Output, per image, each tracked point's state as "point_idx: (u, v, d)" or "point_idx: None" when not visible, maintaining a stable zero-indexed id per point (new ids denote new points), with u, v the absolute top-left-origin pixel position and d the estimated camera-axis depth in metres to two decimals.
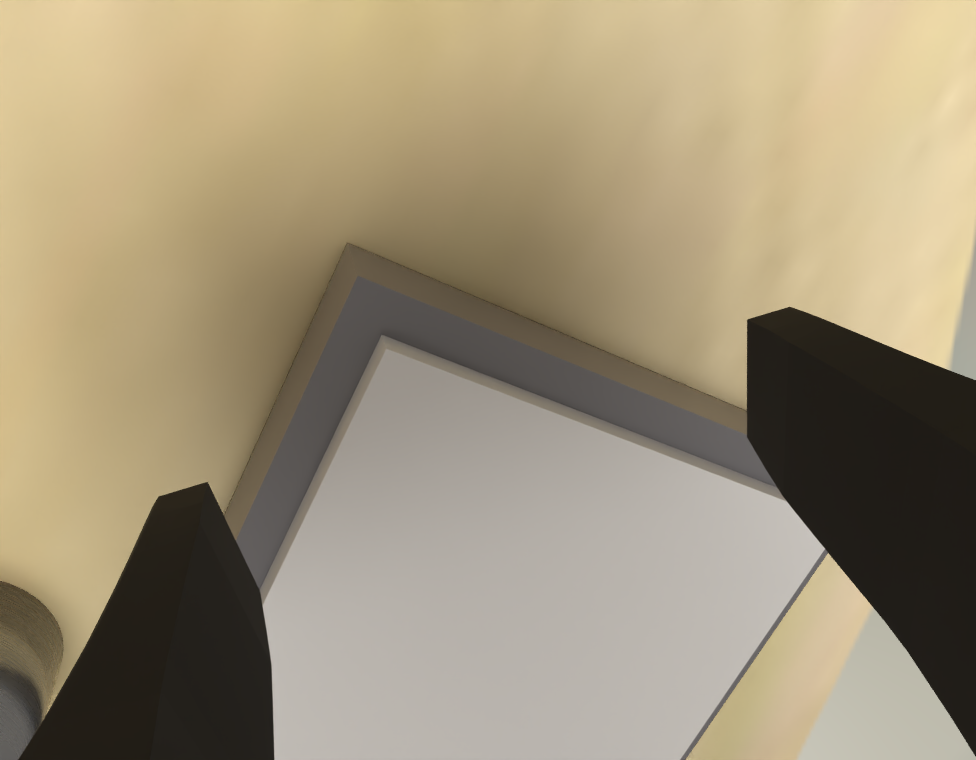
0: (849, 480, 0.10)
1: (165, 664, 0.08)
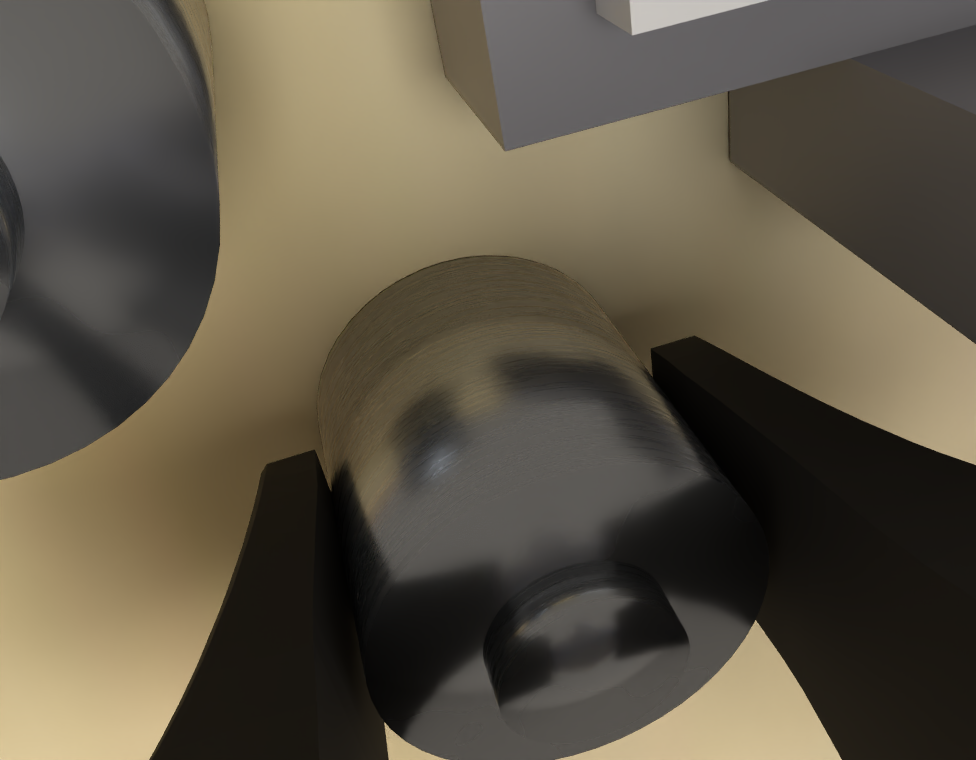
0: None
1: (312, 616, 0.08)
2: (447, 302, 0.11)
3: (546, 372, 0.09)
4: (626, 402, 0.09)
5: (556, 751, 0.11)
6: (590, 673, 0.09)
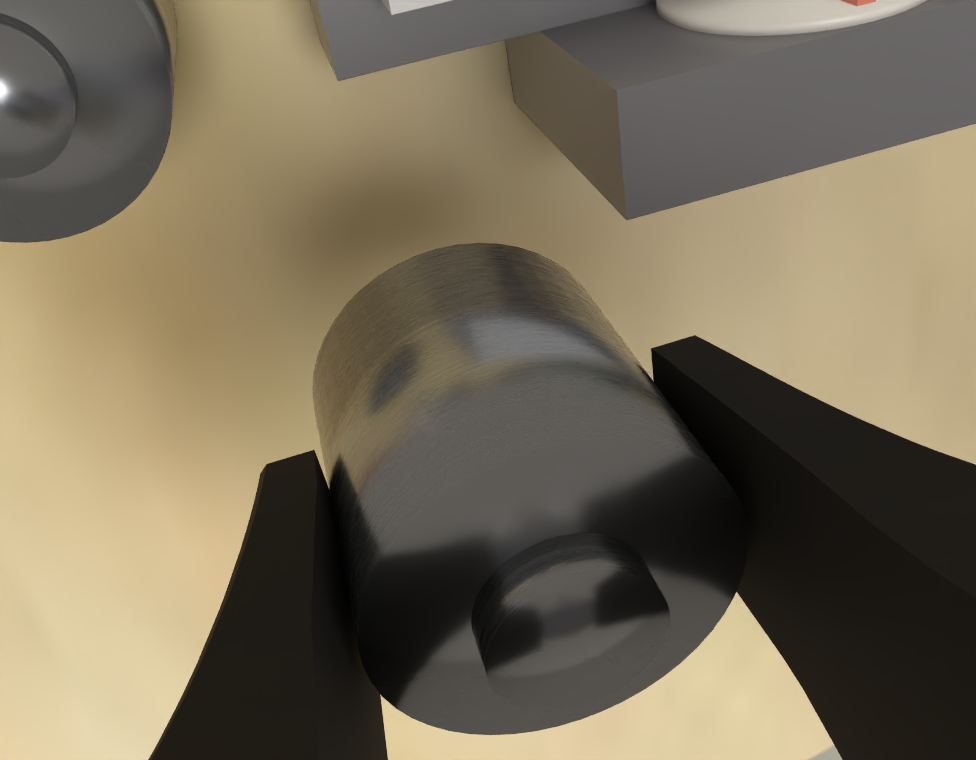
0: None
1: (311, 617, 0.08)
2: (440, 286, 0.11)
3: (534, 352, 0.10)
4: (611, 381, 0.10)
5: (542, 722, 0.11)
6: (574, 641, 0.09)
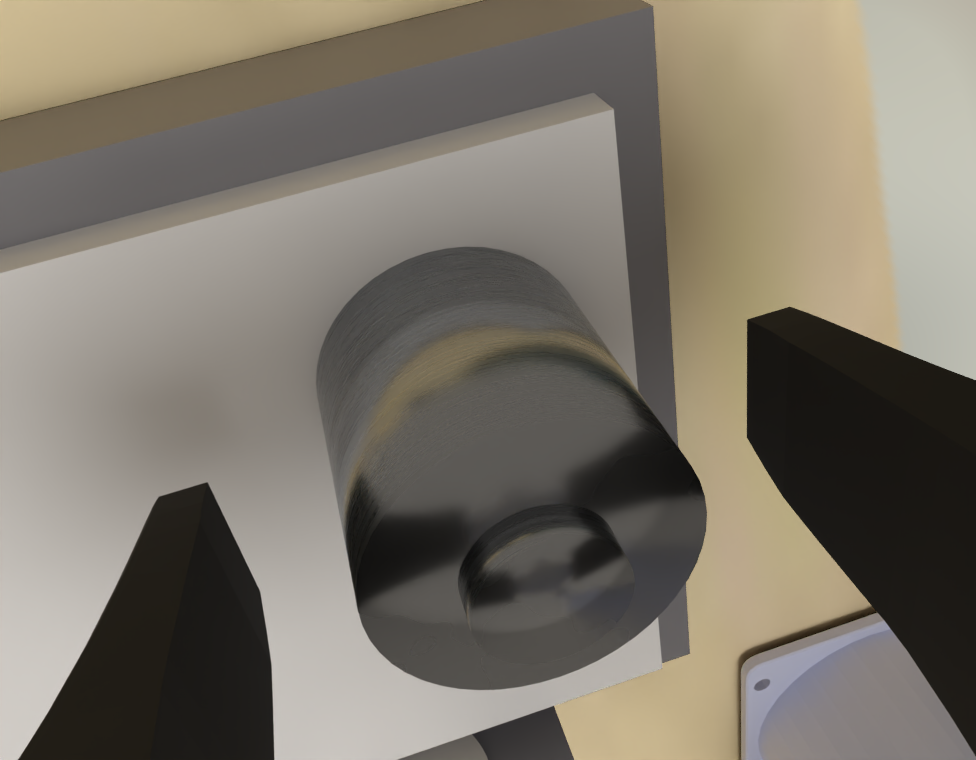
0: (849, 480, 0.10)
1: (165, 664, 0.08)
2: (470, 277, 0.12)
3: (556, 345, 0.11)
4: (618, 383, 0.11)
5: (488, 682, 0.12)
6: (551, 598, 0.10)
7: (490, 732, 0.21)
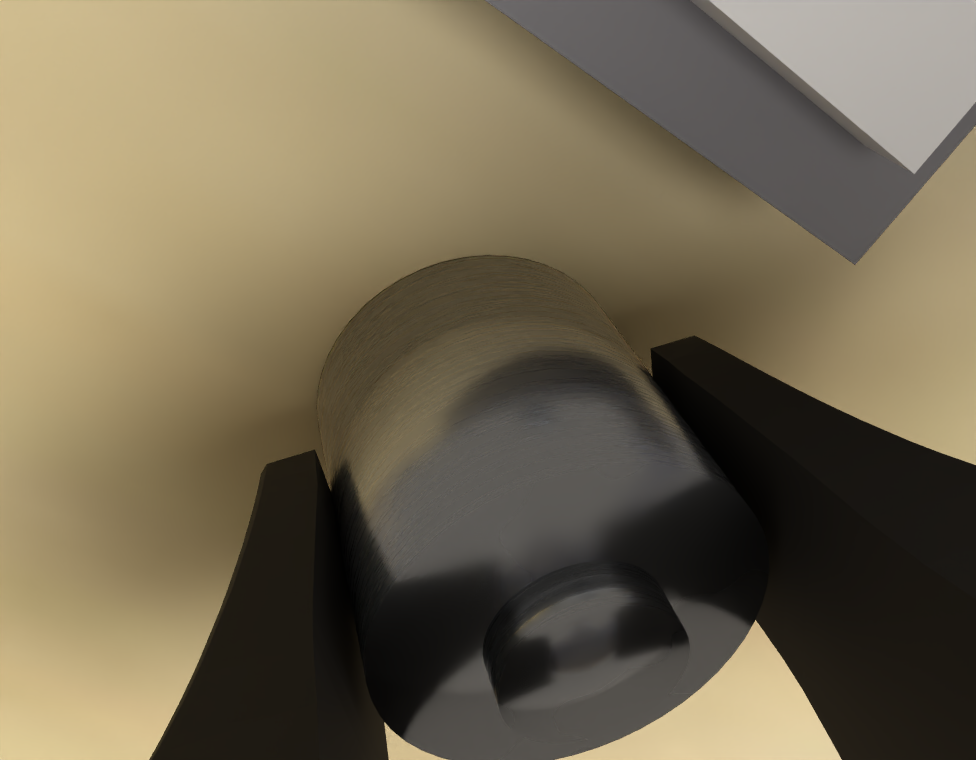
0: None
1: (311, 617, 0.08)
2: None
3: None
4: None
5: None
6: None
7: None
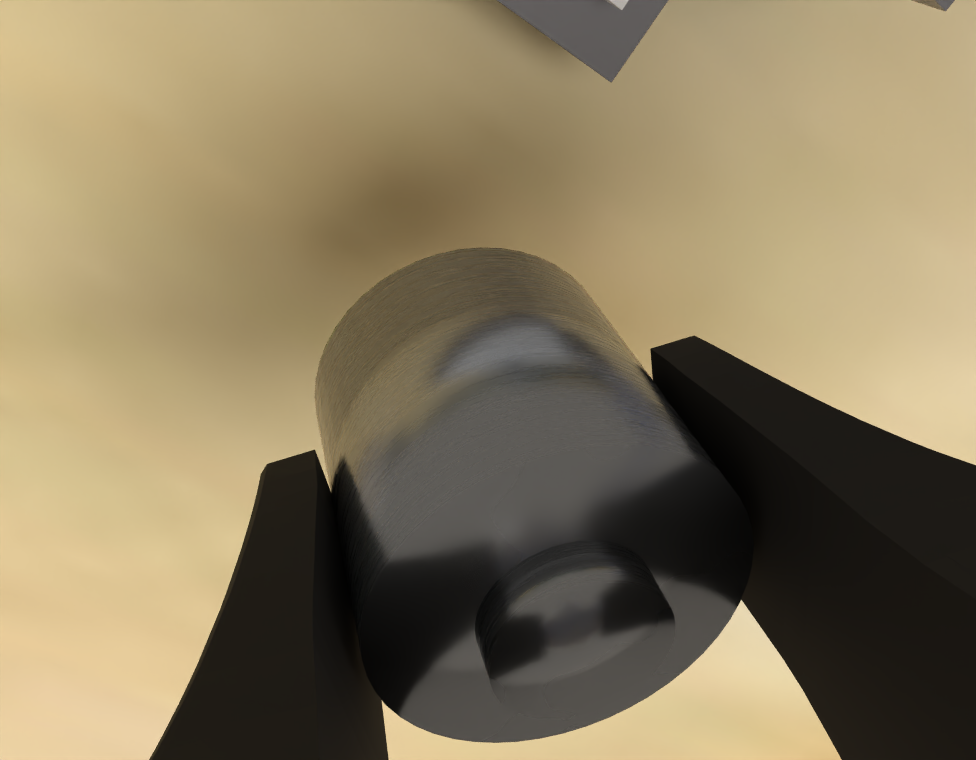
0: None
1: (312, 617, 0.08)
2: None
3: None
4: None
5: None
6: None
7: None
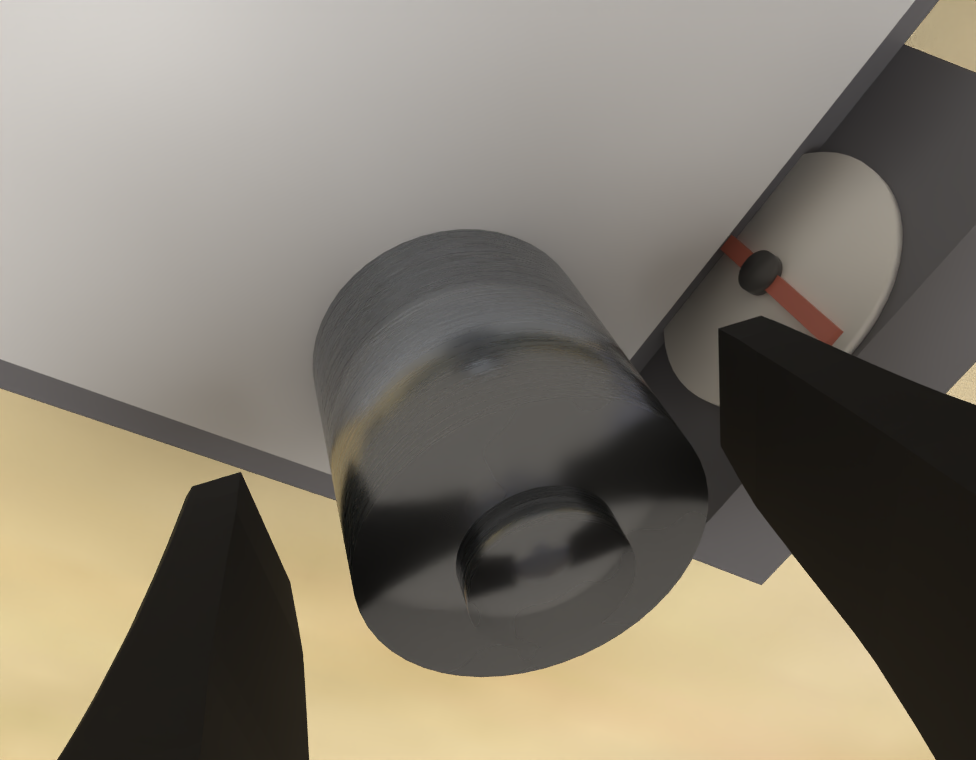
0: (817, 490, 0.10)
1: (210, 649, 0.08)
2: None
3: None
4: None
5: None
6: None
7: (843, 135, 0.15)
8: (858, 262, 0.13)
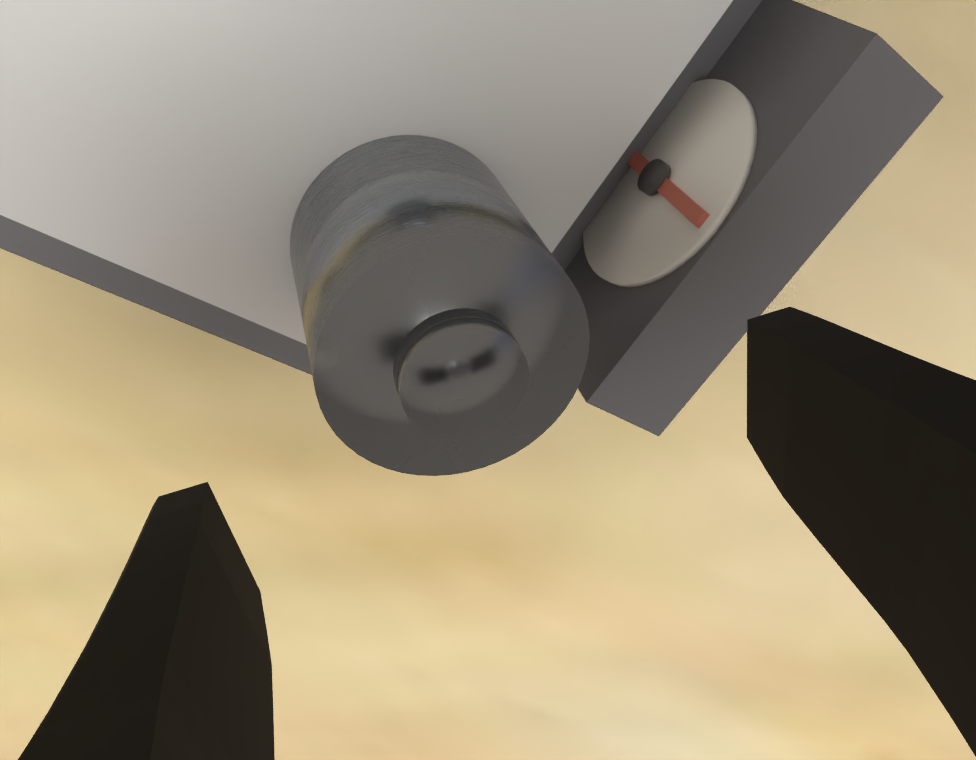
0: (849, 480, 0.10)
1: (165, 664, 0.08)
2: None
3: None
4: None
5: None
6: None
7: (722, 66, 0.18)
8: (723, 161, 0.16)
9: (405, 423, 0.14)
